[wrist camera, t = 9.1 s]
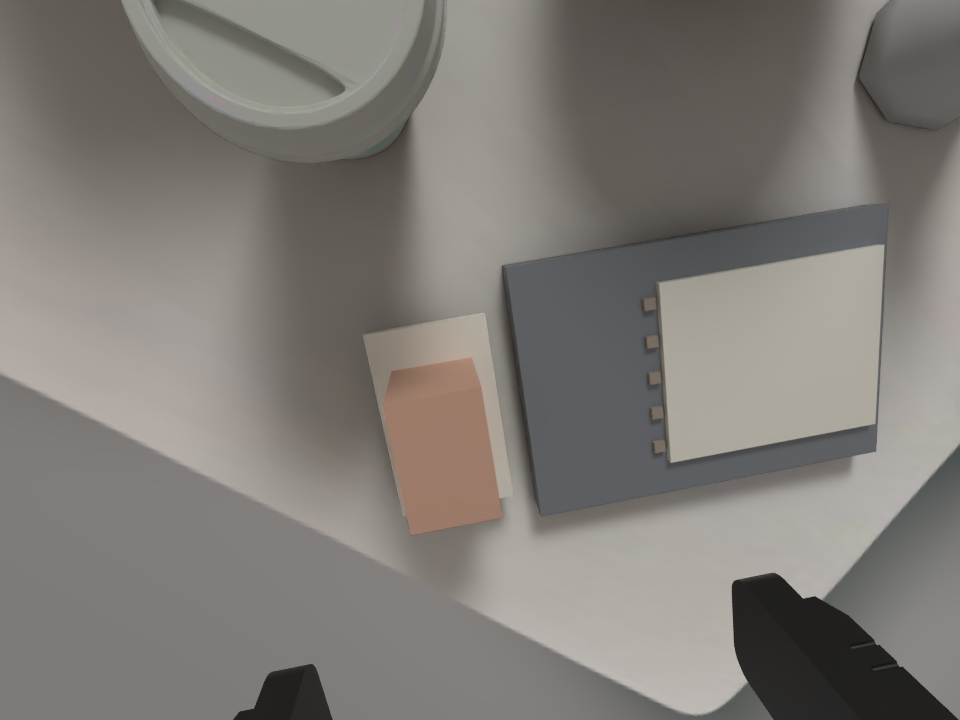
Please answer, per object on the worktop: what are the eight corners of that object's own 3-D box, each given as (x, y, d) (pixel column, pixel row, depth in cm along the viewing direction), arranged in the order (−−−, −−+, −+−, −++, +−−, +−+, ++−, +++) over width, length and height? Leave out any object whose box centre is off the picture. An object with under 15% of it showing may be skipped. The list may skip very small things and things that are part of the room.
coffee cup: (213, 62, 23) (-7, -110, 11) (367, -53, 22) (300, -356, 11) (332, 225, 25) (248, 219, 14) (474, 123, 25) (514, 27, 13)
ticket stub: (484, 312, 25) (498, 334, 20) (511, 490, 28) (531, 552, 22) (364, 332, 25) (345, 361, 20) (403, 511, 28) (396, 579, 22)
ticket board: (864, 204, 27) (895, 203, 26) (855, 441, 31) (881, 454, 29) (502, 265, 26) (507, 268, 25) (535, 502, 30) (542, 520, 28)
